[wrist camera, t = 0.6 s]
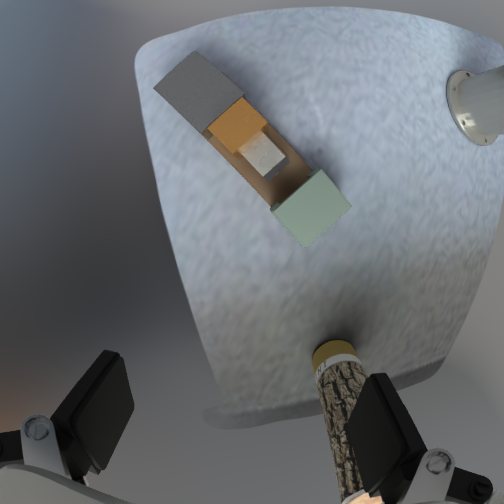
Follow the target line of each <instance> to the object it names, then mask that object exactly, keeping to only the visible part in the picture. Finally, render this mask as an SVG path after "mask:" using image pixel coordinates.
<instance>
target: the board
mask: <svg viewBox="0 0 504 504" xmlns="http://www.w3.org/2000/svg"><path fill="white" fill-rule="evenodd" d="M201 135H202V134H201ZM202 136H203V135H202ZM266 136H267V137H268V138H269V140H270V141H271V142H272V143H273V144H274V145H275V146H276V147H277V148H278V149H279V150H280V151H281V152H282V153H283V154H284V155H285V156H286V157H287V159H288V160H289V161H290V163H289V164H288V165H287V166H286V167H285V168H284V169H282V170H281V171H280V172H279V173H278V174H277V175H276V176H275V177H273V178H272V179H271V180H270V181H269V182H267V181H266V180H265V179H264V177H263V176H262V175H261V174H260V173H259V172H258V171H257V170H256V169H255V168H254V167H253V166H252V165H251V164H250V163H249V162H248V161H247V160H246V159H245V158H244V156H242V157H241V158H240V159H238V158H237V157H236V156H234V155H233V154H232V153H231V152H230V151H229V150H228V149H227V148H226V147H225V146H224V145H223V144H222V143H221V142H220V141H219V140H218V139H217V138H216V137H215V136H214V135H213V136H212V137H211V138H210V139H207V138H206V137H205V136H203V137H204V138H205V139H206V140H207V141H208V142H209V143H210V144H211V145H212V146H213V147H214V148H215V149H216V150H217V151H218V152H219V153H220V154H221V155H222V156H223V157H224V158H225V159H226V160H227V161H228V162H229V163H230V164H231V165H232V166H233V167H234V168H235V169H236V170H237V171H238V172H239V173H240V174H241V175H242V176H243V177H244V179H245V180H246V181H247V182H248V183H249V184H250V185H251V186H252V187H253V188H254V189H255V190H256V191H257V192H258V193H259V194H260V195H261V197H262V198H263V199H264V200H265V201H266V202H267V203H268V204H269V205H270V206H271V207H272V206H273V205H274V204H275V203H277V202H279V204H281V203H282V202H283V201H284V200H285V199H286V198H287V197H289V196H290V195H291V194H292V193H293V192H294V191H295V190H296V189H298V188H299V187H300V186H301V185H302V184H303V183H304V182H305V181H307V180H308V179H309V178H308V177H307V175H308V174H309V173H310V172H311V171H313V170H312V169H311V168H310V167H309V166H308V165H307V164H306V162H305V161H304V160H303V159H302V158H301V157H300V156H299V155H298V154H297V153H296V151H295V150H294V149H293V148H292V147H291V146H290V145H289V144H288V143H287V142H286V141H285V140H284V139H283V138H282V137H281V136H280V134H279V133H278V132H277V131H276V130H275V129H274V128H273V127H272V126H271V125H270V124H269V123H268V129H267V135H266Z"/></svg>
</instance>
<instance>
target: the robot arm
mask: <svg viewBox="0 0 504 504" xmlns="http://www.w3.org/2000/svg"><path fill="white" fill-rule="evenodd" d="M447 99H448V104H449V108H450V111H451V114H452V116H453V118H454V120H455V122H456V124H457V126H458V127H459V129H460V130H461V131H462V133H463V134H464V135H465V136H466V137H467V138H468V139H469V140H470V141H472V142H473V143H475V144H477V145H481V146H484V145H490V144H492V143H493V142H494V141H495V140H496V139H497V137H498V135H500V134H504V65H503V66H500V67H497V68H494V69H491V70H488V71H486V72H483V73H480V74H477V75H475V74H473V73H472V72H469V71H465V70H461V71H458V72H456V73H454V74H453V75H451V77H450V78H449V80H448V84H447ZM133 411H134V401H133V397H132V393H131V390H130V386H129V382H128V377H127V373H126V368H125V364H124V359H123V358H122V357H120V354H119V353H117V352H113V351H109V350H104V351H103V352H102V353H101V354H100V355H99V357H98V358H97V359H96V360H95V362H94V363H93V364H92V365H91V367H90V368H89V369H88V370H87V371H86V373H85V374H84V375H83V377H82V378H81V379H80V380H79V381H78V382H77V384H76V385H75V386H74V388H73V389H72V390H71V391H70V393H69V394H68V395H67V396H66V398H65V399H64V400H63V402H62V403H61V404H60V406H59V407H58V409H57V410H56V411H55V412H54V414H53V415H52V416H51V418H50V419H49V418H48V417H46V416H44V415H40V414H37V415H36V414H35V415H31V416H29V417H27V418H26V419H25V420H24V421H23V422H22V424H21V429H20V430H16V431H10V432H3V433H0V504H134V503H131V502H128V501H125V500H122V499H119V498H116V497H113V496H110V495H108V494H105V493H102V492H100V491H97V490H94V489H92V488H90V487H89V484H88V481H87V479H86V474H87V472H88V471H90V472H93V473H95V474H98V475H99V473H100V471H101V470H104V469H105V468H106V467H107V464H108V462H109V460H110V458H111V456H112V454H113V452H114V450H115V448H116V445H117V443H118V441H119V439H120V437H121V435H122V433H123V431H124V429H125V427H126V425H127V423H128V421H129V419H130V417H131V415H132V413H133ZM347 430H348V433H349V437H350V440H351V444H352V447H353V451H354V455H355V458H356V462H357V466H358V469H359V473H360V477H361V481H362V484H363V488H364V491H365V492H366V493H369V497H370V498H373V497H377V496H381V498H382V501H383V502H382V503H381V504H504V495H503V494H501V493H500V492H498V491H495V492H493V486H492V483H491V481H490V480H489V479H488V478H486V477H484V476H481V475H478V474H475V473H472V472H469V471H466V470H463V469H460V468H457V467H455V461H454V458H453V456H452V455H451V454H450V453H449V452H448V451H446V450H444V449H440V448H434V449H431V450H427V448H426V446H425V444H424V442H423V440H422V438H421V436H420V434H419V432H418V430H417V428H416V426H415V424H414V422H413V420H412V418H411V416H410V415H409V413H408V411H407V409H406V407H405V405H404V404H403V403H402V401H401V399H400V397H399V395H398V393H397V392H396V390H395V388H394V386H393V384H392V382H391V381H390V379H389V377H388V375H387V374H386V373H375V374H371V375H370V377H368V378H366V380H365V382H364V384H363V387H362V389H361V392H360V394H359V397H358V399H357V402H356V404H355V406H354V408H353V411H352V413H351V415H350V417H349V420H348V422H347Z"/></svg>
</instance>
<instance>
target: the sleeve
mask: <svg viewBox="0 0 504 504" xmlns="http://www.w3.org/2000/svg"><path fill="white" fill-rule="evenodd" d="M153 89H154V90H156V91H157V92H158V93H159V94H160V95H161V96H162V97H163V98H164V99H165V100H166V101H167V102H168V103H169V104H170V105H171V106H173V107H174V108H175V109H176V110H177V111H178V112H179V113H180V114H181V115H182V116H183V117H184V118H185V119H186V120H187V121H188V122H189V123H190V124H191V125H192V126H193V127H194V128H195V129H196V130H197V131H198V132H199V133H200V134H202V135H203V136H205V137H206V138H207V139H210V138H211V137H212V136H213V134H212V133H211V132H210V131H209V130H208V129H207V128H208V127H209V126H210V125H211V124H212V123H213V122H214V121H215V120H216V119H218V118H219V117H220V116H221V115H222V114H223V113H224V112H225V111H226V110H228V109H229V108H230V107H231V106H232V105H233V104H234V103H236V102H237V101H238V100H239V99H240V98H241V97H243V98H244V99H245V100H246V96H245V93H244V92H243V91H242V90H241V89H240V88H239V87H238V86H236V85H235V84H234V83H233V82H232V81H231V80H230V79H229V78H227V77H226V76H225V75H224V74H223V73H222V72H221V71H219V70H218V69H217V68H216V67H215V66H214V65H212V64H211V63H210V62H209V61H208V60H206V59H205V58H204V57H203V56H201V55H200V54H199V53H198V52H196V51H193V52H192V53H191V54H190V55H189V56H187V57H186V58H185V59H184V60H183V61H182V62H180V63H179V64H178V65H177V66H176V67H175V68H174V69H173V70H172V71H170V72H169V73H168V74H167V75H166V76H165V77H164V78H163V79H162V80H161V81H160V82H159V83H158V84H157V85H156V86H155V87H154V88H153Z"/></svg>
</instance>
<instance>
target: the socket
mask: <svg viewBox="0 0 504 504" xmlns="http://www.w3.org/2000/svg"><path fill="white" fill-rule="evenodd" d="M307 177H308V178H309V179H308V180H307V181H305V182H304V183H303V184H302V185H301V186H300V187H299V188H298V189H296V190H295V191H294V192H293V193H292V194H291V195H290V196H289V197H287V198H286V199H285V200H284V201H283V202H282V203H281V204H279V202H277V203H275V204H274V205H273V206H272V207H271V208H270V210H271V213H272V214H273V215H274V216H275V217H276V218H277V219H278V220H279V221H280V222H281V224H282V225H283V226H284V227H285V228H286V229H287V230H288V231H289V232H290V233H291V235H292V236H293V237H294V238H295V239H296V240H297V241H298V242H299V244H300V245H301V246H304V247H305V248H306V247H307V246H308V245H309V244H311V243H312V242H313V241H314V240H315V239H316V238H317V237H319V236H320V235H321V234H322V233H323V232H324V231H325V230H326V229H328V228H329V227H330V226H331V225H332V224H333V223H334V222H335V221H337V220H338V219H339V218H340V217H341V216H342V215H343V214H344V213H345V212H347V211H348V210H349V209H350V208H351V207H352V206H351V204H350V203H349V202H348V201H347V199H346V198H345V197H344V196H343V194H342V193H341V192H340V191H339V189H338V188H337V187H336V186H335V185H334V183H333V182H332V181H331V180H330V179H329V177H328V176H327V175H326V174H325V173H324V172H323V170H322V169H321V168H319V169H314V170H313V171H311V172H310V173H309V174H308V175H307Z"/></svg>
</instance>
